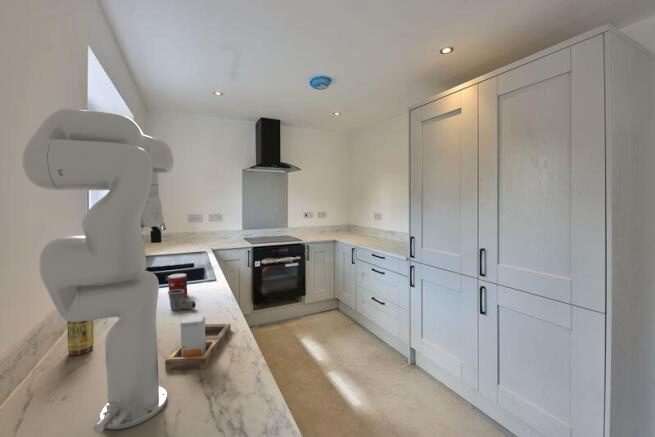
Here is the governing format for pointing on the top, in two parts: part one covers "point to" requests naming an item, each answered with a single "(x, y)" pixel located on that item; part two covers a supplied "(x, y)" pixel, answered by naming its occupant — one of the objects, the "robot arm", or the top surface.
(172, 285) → the canned food
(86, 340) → the sauce bottle
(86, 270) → the robot arm
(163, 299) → the top surface
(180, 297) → the pipe
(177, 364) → the wooden flat frame
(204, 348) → the skincare box
